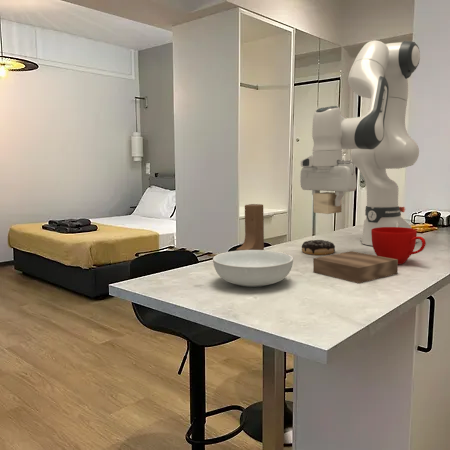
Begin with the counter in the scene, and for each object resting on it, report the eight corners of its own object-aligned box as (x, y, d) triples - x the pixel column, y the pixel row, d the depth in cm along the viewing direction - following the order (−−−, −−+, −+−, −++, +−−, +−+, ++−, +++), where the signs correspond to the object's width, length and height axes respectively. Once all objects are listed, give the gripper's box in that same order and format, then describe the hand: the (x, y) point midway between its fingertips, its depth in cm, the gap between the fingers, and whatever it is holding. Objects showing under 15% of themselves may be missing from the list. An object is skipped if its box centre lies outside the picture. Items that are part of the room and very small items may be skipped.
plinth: (351, 264, 136) (351, 251, 136) (397, 273, 123) (397, 259, 123) (313, 272, 127) (313, 258, 127) (358, 283, 114) (359, 268, 114)
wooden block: (247, 264, 140) (246, 206, 138) (236, 262, 143) (235, 206, 141) (264, 259, 147) (263, 204, 144) (253, 257, 150) (252, 203, 147)
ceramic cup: (410, 271, 126) (411, 235, 125) (361, 261, 140) (362, 229, 139) (437, 264, 133) (438, 231, 132) (388, 256, 147) (389, 225, 146)
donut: (295, 253, 157) (295, 241, 157) (317, 248, 165) (317, 237, 164) (320, 257, 149) (320, 245, 148) (342, 252, 156) (342, 241, 156)
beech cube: (327, 210, 144) (326, 192, 143) (341, 212, 139) (341, 192, 138) (313, 212, 141) (313, 193, 140) (327, 213, 136) (327, 194, 135)
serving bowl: (207, 293, 109) (206, 265, 108) (219, 273, 130) (219, 249, 129) (293, 294, 106) (293, 266, 105) (292, 273, 127) (292, 249, 126)
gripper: (361, 159, 131) (361, 206, 133) (311, 160, 148) (311, 202, 150) (346, 159, 127) (346, 208, 129) (296, 161, 144) (297, 204, 146)
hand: (327, 205), depth 140 cm, fingers closed on beech cube, 6 cm apart
